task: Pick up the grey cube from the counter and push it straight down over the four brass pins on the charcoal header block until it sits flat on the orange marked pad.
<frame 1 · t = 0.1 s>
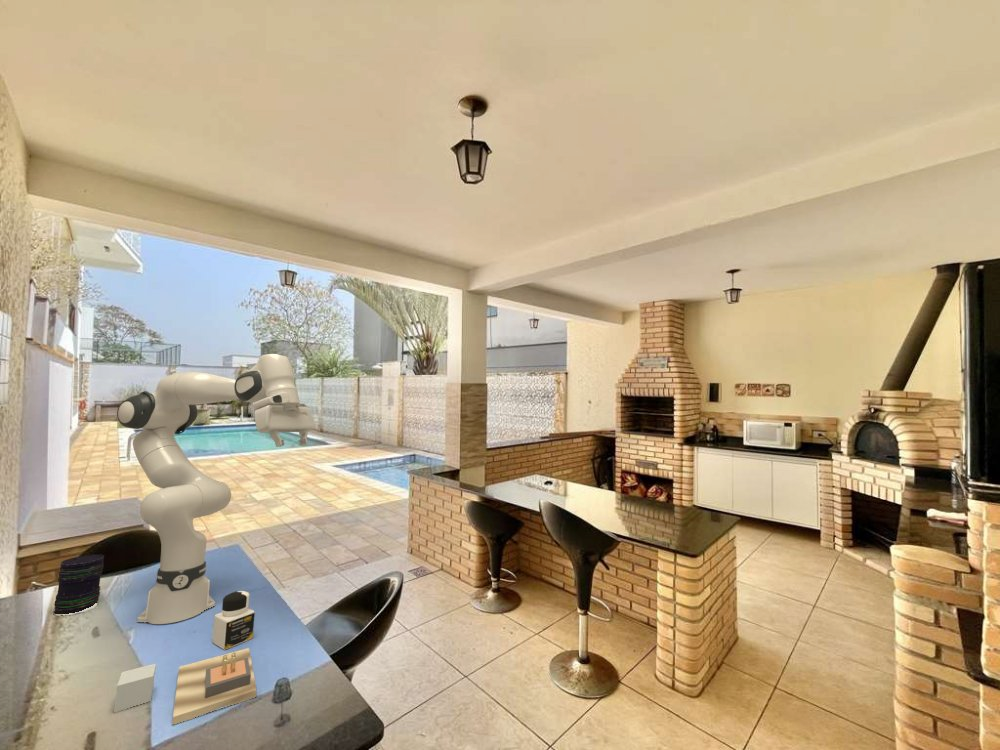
hand: (292, 445, 120), 52 cm above the table, tool tilted 20°, fingers open, 8 cm apart
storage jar: (76, 609, 125), on the table
medicine bottle: (232, 641, 108), on the table
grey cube: (134, 699, 85), on the table
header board: (215, 685, 89), on the table
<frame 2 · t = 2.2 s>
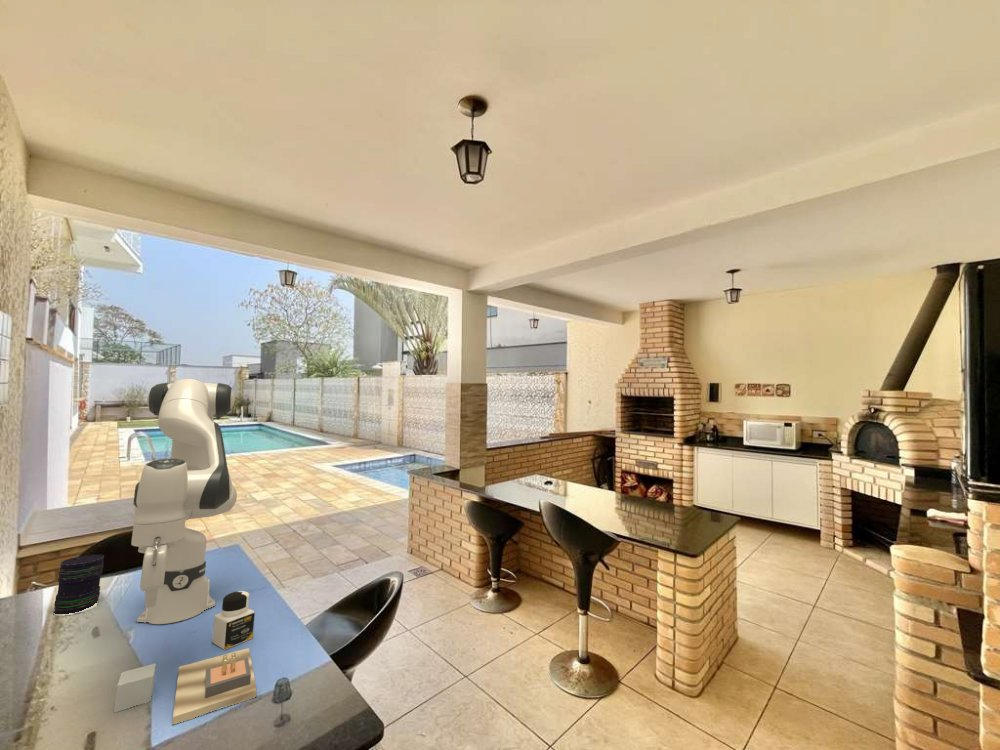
hand: (151, 598, 87), 20 cm above the table, tool pointing down, fingers open, 8 cm apart
nothing on the table moved.
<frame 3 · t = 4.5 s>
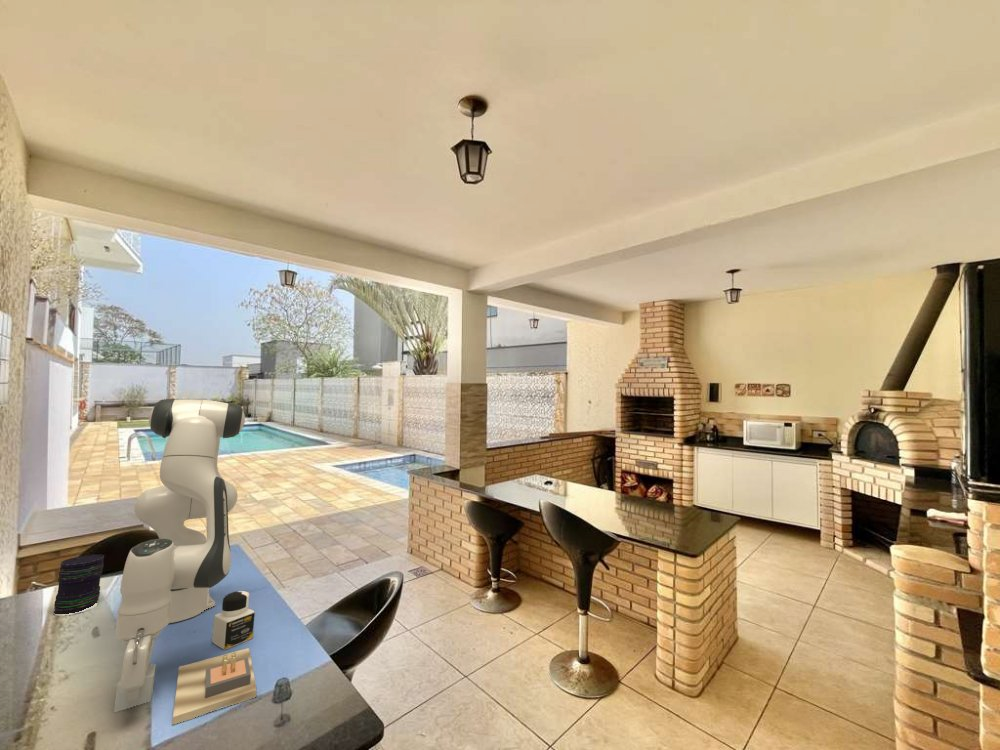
hand: (135, 689, 85), 2 cm above the table, tool pointing down, fingers closed on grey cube, 6 cm apart
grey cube: (134, 699, 85), on the table, touching gripper
everything else where it was.
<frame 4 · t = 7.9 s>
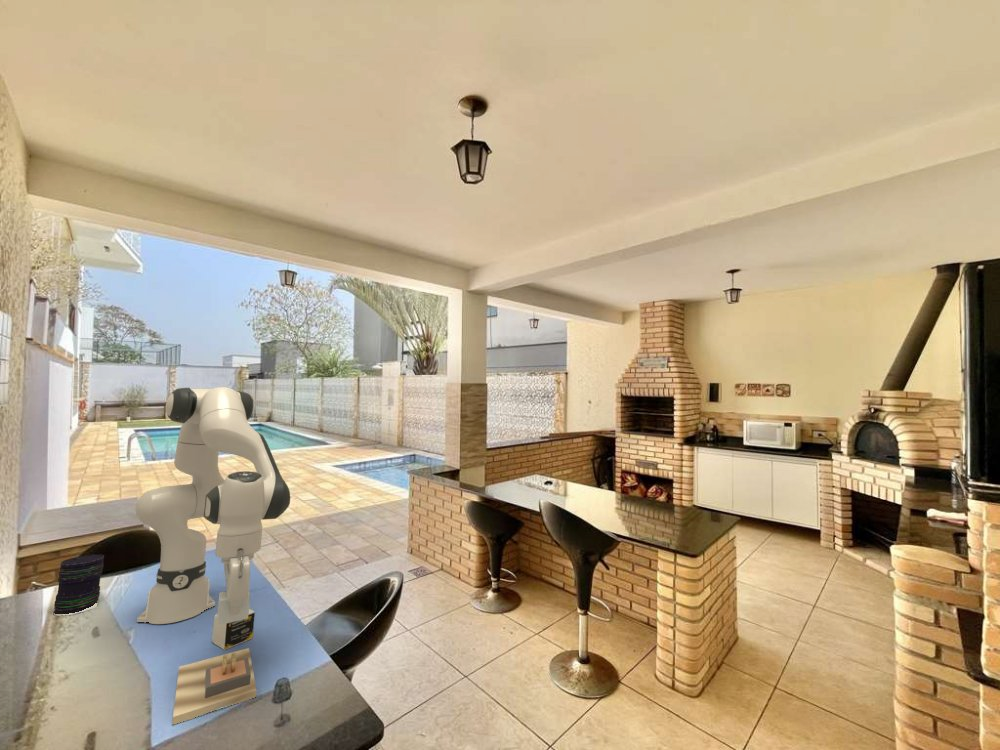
hand: (233, 607, 90), 17 cm above the table, tool pointing down, fingers closed on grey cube, 6 cm apart
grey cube: (232, 617, 90), point 15 cm above the table, touching gripper
everything else where it was.
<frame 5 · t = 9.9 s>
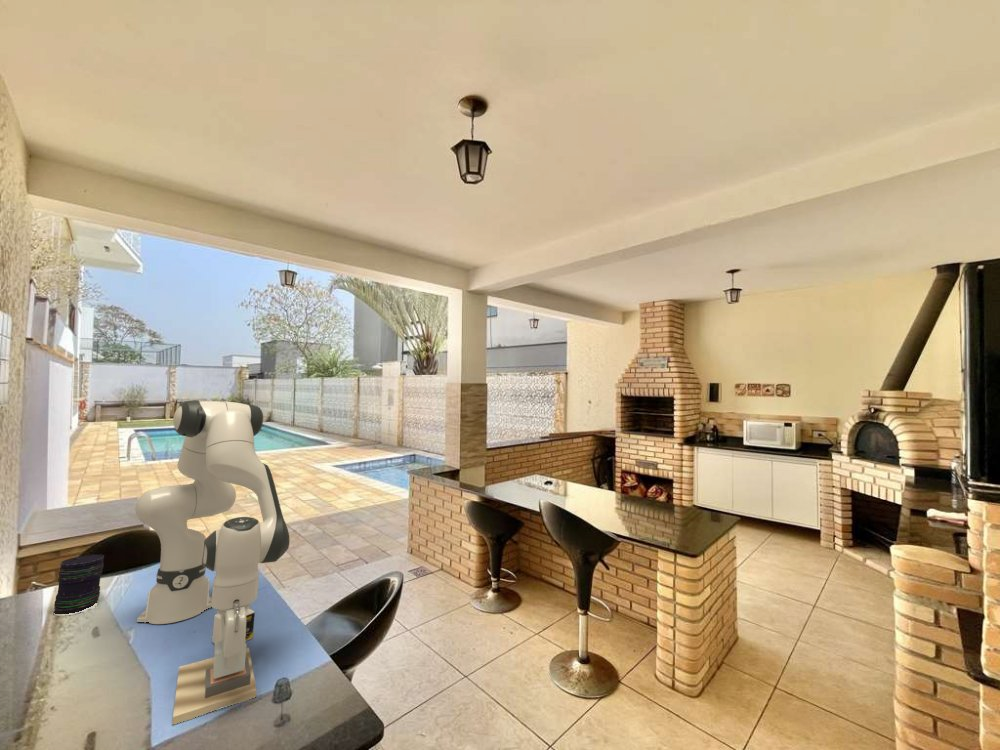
hand: (229, 658, 89), 6 cm above the table, tool pointing down, fingers closed on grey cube, 6 cm apart
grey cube: (228, 668, 89), point 4 cm above the table, touching gripper
everything else where it was.
when the fingers open (5 cm above the table, at t = 11.3 s): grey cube stays where it is, resting on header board.
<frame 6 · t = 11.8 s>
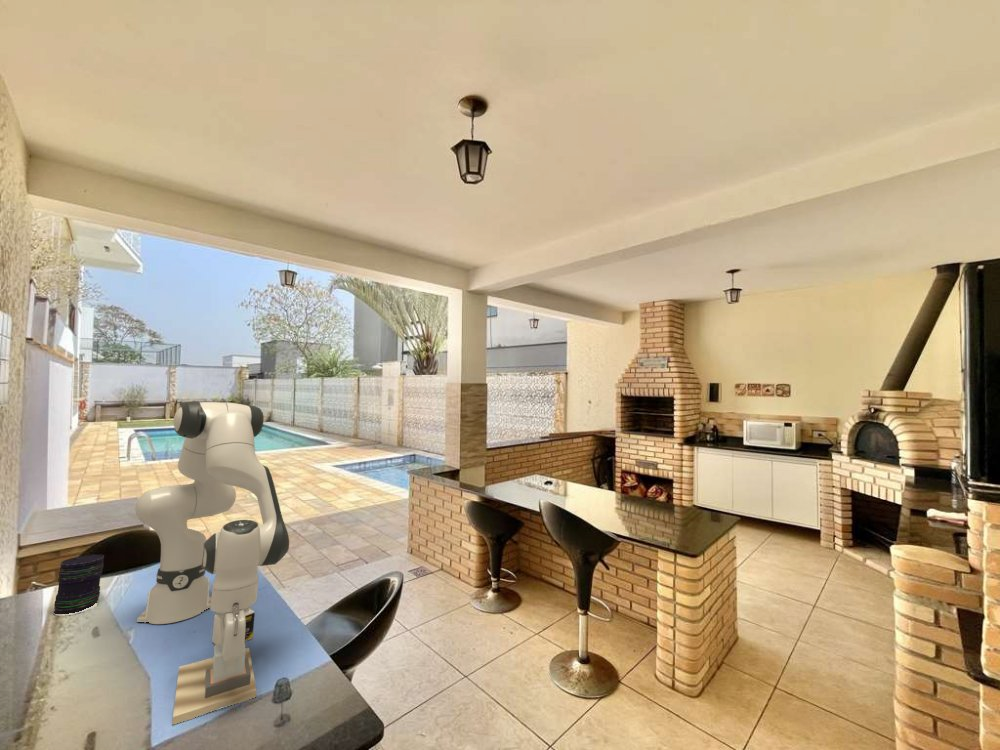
hand: (229, 662, 89), 5 cm above the table, tool pointing down, fingers open, 8 cm apart
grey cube: (227, 671, 89), point 4 cm above the table, touching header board
everything else where it was.
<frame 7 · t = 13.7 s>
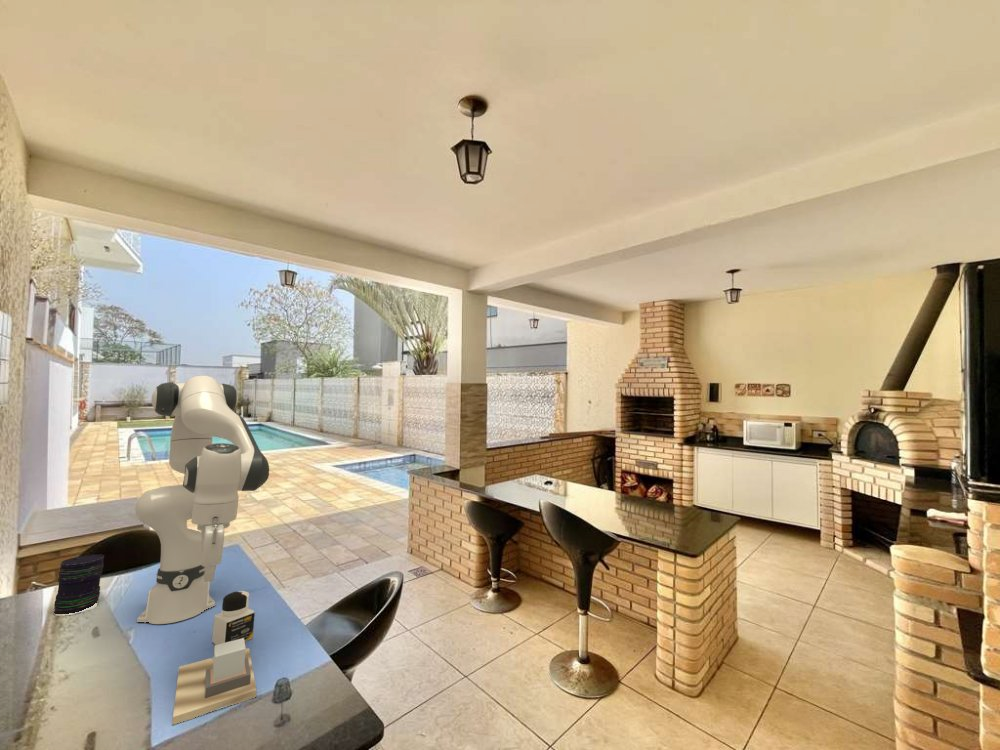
hand: (208, 573, 94), 23 cm above the table, tool pointing down, fingers open, 8 cm apart
nothing on the table moved.
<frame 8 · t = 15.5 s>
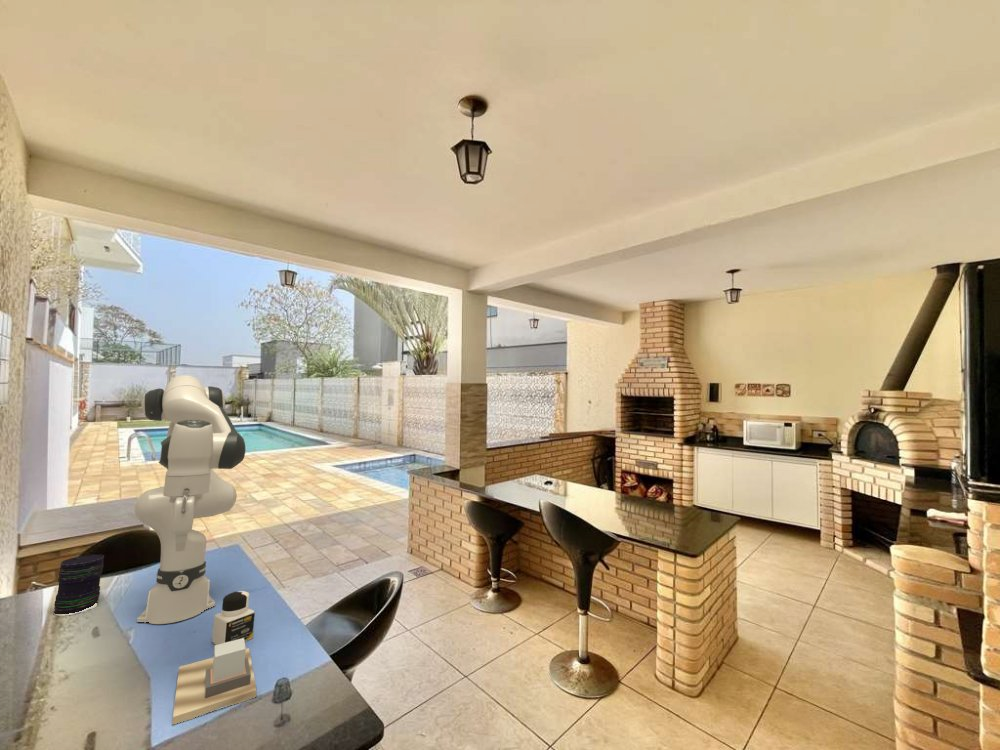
hand: (181, 545, 96), 29 cm above the table, tool pointing down, fingers open, 8 cm apart
nothing on the table moved.
at the end: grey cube 0.0 cm from the target spot on the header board, point 3.6 cm above the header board's base; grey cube tilted 0°; the gripper is holding nothing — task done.
